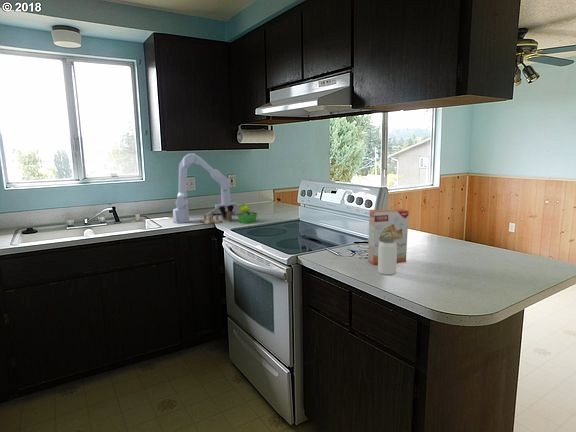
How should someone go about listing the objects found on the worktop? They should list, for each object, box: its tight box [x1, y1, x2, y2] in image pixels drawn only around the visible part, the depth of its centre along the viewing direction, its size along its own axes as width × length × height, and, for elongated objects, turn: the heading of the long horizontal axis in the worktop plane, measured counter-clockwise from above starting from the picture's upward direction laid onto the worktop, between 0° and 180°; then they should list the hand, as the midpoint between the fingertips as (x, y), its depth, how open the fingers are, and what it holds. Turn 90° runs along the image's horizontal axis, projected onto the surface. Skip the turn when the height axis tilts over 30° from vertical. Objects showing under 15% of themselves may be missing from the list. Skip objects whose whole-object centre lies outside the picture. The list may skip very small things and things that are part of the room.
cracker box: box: [367, 208, 409, 265], centre depth 150 cm, size 14×6×21 cm, turn 100°
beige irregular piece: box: [199, 213, 223, 225], centre depth 242 cm, size 10×12×4 cm
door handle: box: [205, 197, 235, 216], centre depth 271 cm, size 18×8×20 cm
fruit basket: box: [237, 203, 258, 224], centre depth 238 cm, size 11×9×11 cm
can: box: [377, 239, 397, 276], centre depth 138 cm, size 6×6×12 cm
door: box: [221, 209, 233, 222], centre depth 245 cm, size 2×10×6 cm, turn 33°
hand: (226, 217), depth 245 cm, fingers open, 3 cm apart
